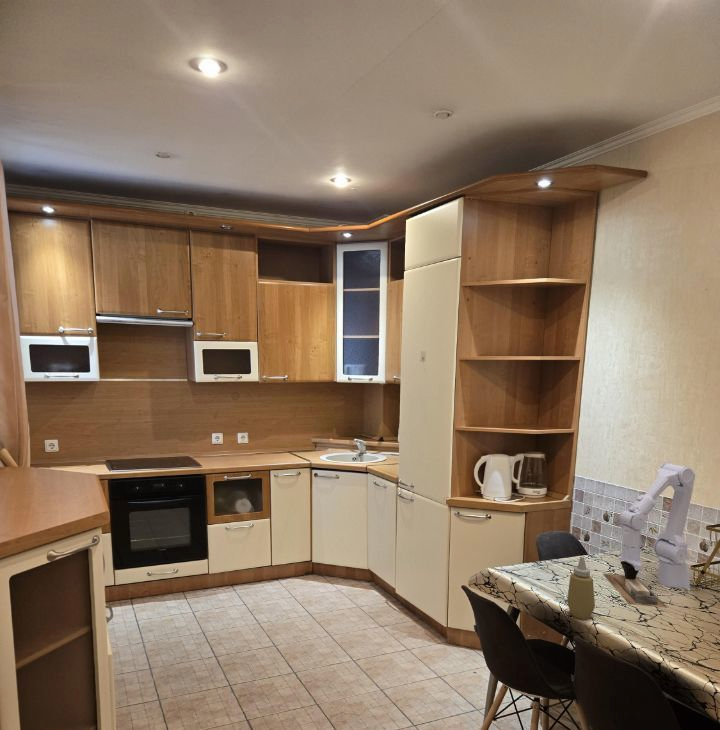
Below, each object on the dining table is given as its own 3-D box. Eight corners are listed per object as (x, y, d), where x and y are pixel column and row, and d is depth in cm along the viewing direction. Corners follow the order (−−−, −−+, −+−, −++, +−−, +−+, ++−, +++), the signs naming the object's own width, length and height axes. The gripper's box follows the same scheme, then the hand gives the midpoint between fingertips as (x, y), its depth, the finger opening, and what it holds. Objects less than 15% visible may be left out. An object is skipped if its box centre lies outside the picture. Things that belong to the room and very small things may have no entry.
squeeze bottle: (560, 611, 161) (562, 554, 162) (579, 607, 165) (581, 551, 165) (581, 623, 154) (582, 563, 154) (600, 619, 157) (602, 560, 158)
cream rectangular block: (637, 588, 180) (637, 579, 180) (649, 600, 170) (649, 591, 170) (625, 587, 180) (625, 578, 180) (636, 599, 170) (637, 590, 171)
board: (635, 578, 191) (636, 569, 191) (668, 610, 165) (668, 599, 165) (602, 575, 193) (602, 567, 193) (629, 606, 167) (629, 596, 167)
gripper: (612, 538, 189) (611, 574, 189) (626, 551, 175) (625, 590, 175) (632, 539, 188) (631, 576, 188) (648, 553, 174) (647, 592, 174)
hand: (630, 583), depth 181 cm, fingers closed
